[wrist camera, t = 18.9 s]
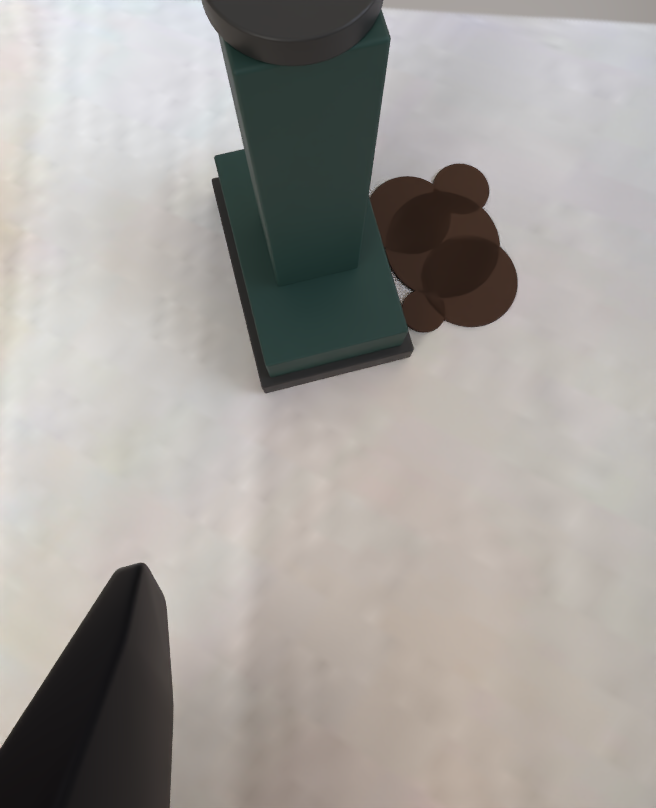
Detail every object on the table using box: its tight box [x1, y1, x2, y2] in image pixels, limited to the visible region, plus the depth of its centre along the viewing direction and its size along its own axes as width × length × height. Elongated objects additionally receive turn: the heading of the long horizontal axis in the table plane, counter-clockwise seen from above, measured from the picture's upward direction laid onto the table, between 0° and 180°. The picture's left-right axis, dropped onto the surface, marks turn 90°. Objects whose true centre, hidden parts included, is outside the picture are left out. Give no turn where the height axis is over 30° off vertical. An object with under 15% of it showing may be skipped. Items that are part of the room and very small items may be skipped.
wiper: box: [202, 0, 414, 393], centre depth 16 cm, size 9×6×13 cm, turn 15°
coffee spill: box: [370, 164, 517, 332], centre depth 23 cm, size 7×6×1 cm
